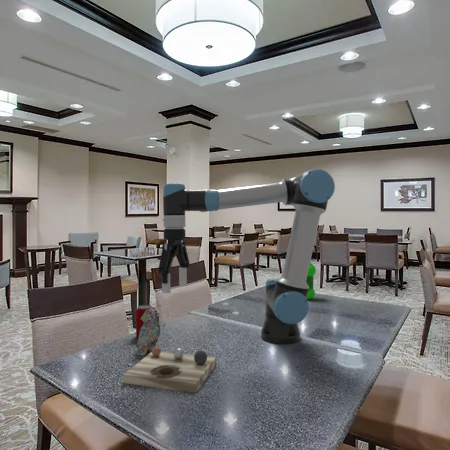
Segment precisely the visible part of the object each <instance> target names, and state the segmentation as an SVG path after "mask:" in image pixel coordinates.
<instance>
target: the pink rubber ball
mask: <svg viewBox="0 0 450 450" xmlns="http://www.w3.org/2000/svg"><path fill="white" fill-rule="evenodd" d="M161 351H162V349H161V347H160V346H158V345H156V346H155V347H154V348H153V349H152V354H153V355H154V356H158V355H160V353H161Z"/></svg>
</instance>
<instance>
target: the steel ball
mask: <svg viewBox="0 0 450 450" xmlns="http://www.w3.org/2000/svg"><path fill="white" fill-rule="evenodd" d="M184 354H185V350H184V349H183V348H181V347H177V348H175V349H174V351H173V355H174V357H175V358H176V359H181V358H183V356H184Z"/></svg>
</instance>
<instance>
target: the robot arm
mask: <svg viewBox="0 0 450 450" xmlns="http://www.w3.org/2000/svg"><path fill="white" fill-rule="evenodd" d="M335 187H336V184H335V181H334V178H333V177H332V176H331V174H330V173H329V172H327V171H326V170H323V169H319V168H315V169H314V168H313V169H312V168H311V169H309V170H306V171H305V172H304V173H301V174H298V175H297V176H294V177H291V178H286V179H281V180H280V182H274V183H267V184H259V185H251V186H242V187H234V188H226V189H218V190H217V189H210V188H209V189H208V188H207V189H186V186H185V184H184V183H166V184H164V185H163V196H162V207H163V211H162V213H163V219H162V221H163V227H164V229H163V240H166V241H167V242H165V243H164V242H163V243H162V246H161V247H162V248H161V249H162V250H161V254H160V260H159V264H158V268H157V272H158V274H161V293H162V294H171V273H170V270H171V267H172V264H173V261H174V258H176V260H177V262H178V265H179V267H178V282H179V283H178V286H182V287H183V286H188V284H187V283H188V280H187V279H188V278H187V277H188V276H187V275H188V271H187V268H190V259H189V255H188V251H187V244H186V241H185V239H186V229H185V227H186V212H201V213H207V212H217V211H219V210H226V209H227V210H228V209H236V208H243V207H251V206H260V205H270V204H275V203H276V204H277V203H282V204H284V205H290V204H292V206H293V208H294V210H295V214H294V219H293V222H292V227H291V232H290V236H289V239H288V240H289V242H288V246H287V251H286V255H285V258H284V260H285V261H284V264H283V269H282V275H281V276H280V277H278V278H270V279H267V280H266V281H265V286H264V288H265V319H264V321H263V324H262V327H261V330H260V331H261V332H260V334H261V335H260V337H261V339H262V338H263V339H262V340H263V341H265V342H268V341H269V342H268V343H272V344H279V345H284V344H285V345H286V344H287V345H288V344H292V343H294V344H295V343H296V342H299V341H300V339H301V331H300V328H299V325H298V324H299V323H301V322H302V321H303V320H304V319H306V317H307V315H308V313H309V309H310V305H309V300H307V296H308V291H309V286H308V284H307V283H306V279H307V275H308V270H309V265H310V263H311V261H312V260H311V259H312V255H313V251H314V247H315V246H314V245H315V242H316V236H317V231H318V228H319V222H320V218H321V215H322V214H324V213H326V210H327V206H328V201H329V200H330V199H331V198H332V196H333V195H334V194H335V190H336V188H335Z"/></svg>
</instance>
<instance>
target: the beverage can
mask: <svg viewBox="0 0 450 450" xmlns="http://www.w3.org/2000/svg"><path fill="white" fill-rule="evenodd" d="M152 307H153V306H152V305H149V304H141V305H138V306H137V309H136V310H135V336H136V337H137V338H139V334H140V330H141V327H142V325H143V324H144V322H143V320H141V317H142V316H143V314H144V312H145V311H146V310H149V309H150V308H152Z"/></svg>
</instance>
